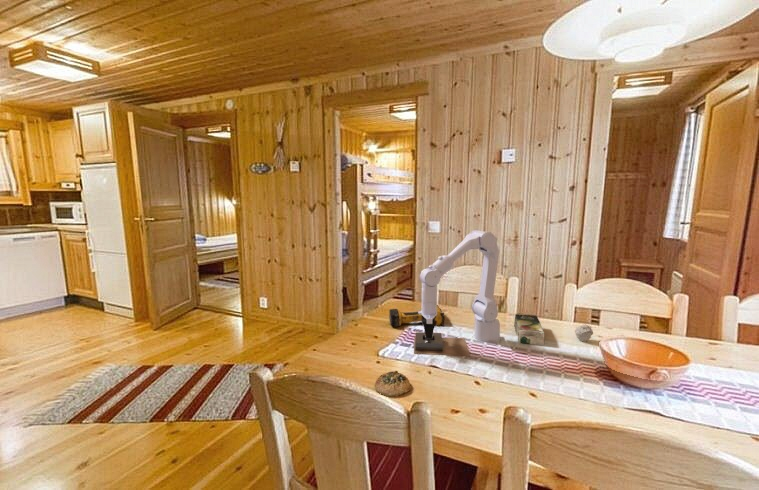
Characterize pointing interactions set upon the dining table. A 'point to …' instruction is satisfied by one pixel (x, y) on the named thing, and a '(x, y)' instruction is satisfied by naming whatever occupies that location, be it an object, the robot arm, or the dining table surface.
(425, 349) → the socket block
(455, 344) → the walnut board
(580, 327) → the grey rock
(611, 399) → the dining table surface
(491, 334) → the robot arm
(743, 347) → the dining table surface
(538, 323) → the juice carton
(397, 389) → the bread roll
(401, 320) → the power drill
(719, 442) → the dining table surface
